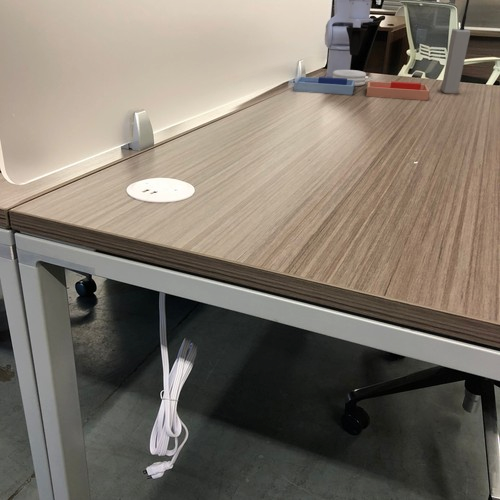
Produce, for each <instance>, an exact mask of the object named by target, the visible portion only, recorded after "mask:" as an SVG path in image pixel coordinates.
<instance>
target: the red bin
mask: <svg viewBox="0 0 500 500" xmlns="http://www.w3.org/2000/svg"><path fill="white" fill-rule="evenodd" d="M375 86H388V87H390V86H391V81H389V82H388V81H374V80H373V81H372V80H368V82H367V86H366V87H367V88H366V97H372V98H373V97H374V98H376V97H377V98H388V99H389V98H390V99H401V100H403V99H404V100H417V101H429V96H430V89H429V87H428V85H427V84H421V89H420V90H410V89H395V88H381V87H375Z"/></svg>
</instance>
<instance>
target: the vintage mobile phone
mask: <svg viewBox="0 0 500 500" xmlns="http://www.w3.org/2000/svg"><path fill="white" fill-rule="evenodd" d="M469 2H470V0H466V1H465V6H464V7H465V8H464V12H463V14H462V15H463V16H462V20H461V25H460V27H459V28H452V29H451V34H450V40H449V45H448V51H447V52H448V53H447V58H446V63H445V67H444V73H443V79H442V81H441V84H440V88H439V89H440V91H441V93H443V94H450V95H457V94H458V93H459V89H460V83H461V79H462V74H463V70H464V65H465V59H466V56H467V52H468V51H467V50H468V46H469V42H470V38H471V37H470V36H471V30H470V29H465V24H466V20H467V13H468V8H469Z"/></svg>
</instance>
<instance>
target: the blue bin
mask: <svg viewBox="0 0 500 500" xmlns="http://www.w3.org/2000/svg"><path fill="white" fill-rule="evenodd" d="M318 79H319V77H312V76H299V77H297V79H296V80H295V81H294V85H293V92H302V93H303V92H305V93H317V94H318V93H320V94H330V95H331V94H332V95H344V96H345V95H347V96H353V93H354V90H355V86H354V85H355V80H347V85H336V84H321V83H306V82H305V81H315V82H318Z"/></svg>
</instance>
